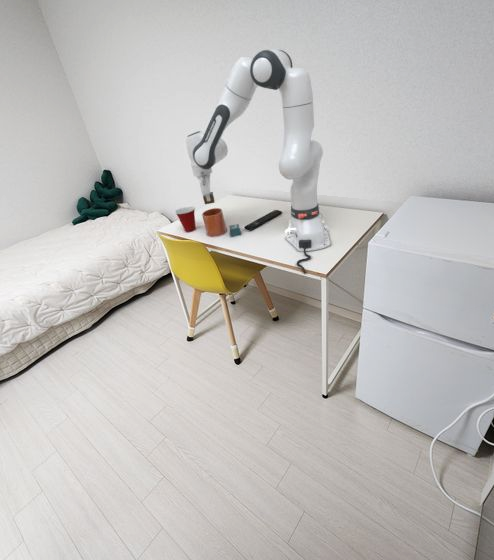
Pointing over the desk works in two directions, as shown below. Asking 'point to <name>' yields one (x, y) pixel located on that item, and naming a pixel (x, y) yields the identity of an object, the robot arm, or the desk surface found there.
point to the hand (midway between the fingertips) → (209, 198)
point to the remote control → (262, 220)
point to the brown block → (210, 198)
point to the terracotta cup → (214, 222)
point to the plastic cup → (187, 218)
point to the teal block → (234, 230)
